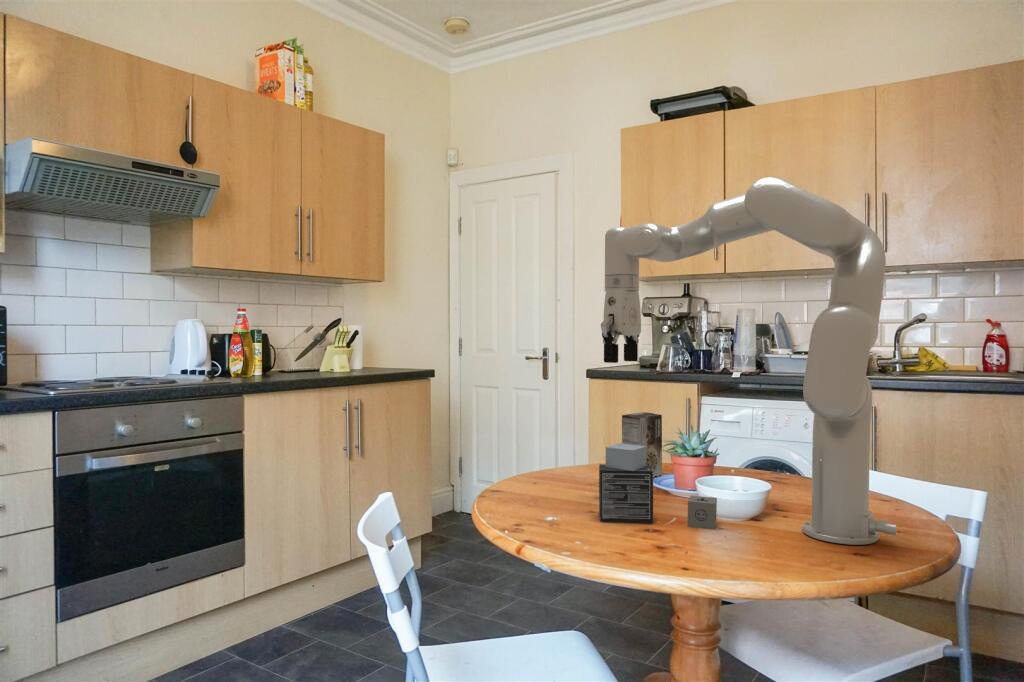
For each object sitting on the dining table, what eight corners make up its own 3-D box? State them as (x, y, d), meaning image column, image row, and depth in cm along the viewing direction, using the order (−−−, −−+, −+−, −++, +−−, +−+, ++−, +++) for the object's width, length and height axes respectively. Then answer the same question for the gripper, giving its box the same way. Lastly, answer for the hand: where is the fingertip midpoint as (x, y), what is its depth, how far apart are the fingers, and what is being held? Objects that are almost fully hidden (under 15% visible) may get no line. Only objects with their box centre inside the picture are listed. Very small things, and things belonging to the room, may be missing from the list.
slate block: (646, 466, 136) (646, 446, 136) (633, 470, 131) (633, 450, 131) (619, 462, 140) (619, 443, 139) (605, 467, 135) (605, 447, 135)
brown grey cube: (687, 527, 130) (687, 501, 130) (690, 520, 135) (690, 495, 135) (714, 530, 128) (714, 503, 128) (716, 523, 133) (716, 497, 133)
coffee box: (643, 472, 181) (643, 411, 181) (662, 476, 176) (663, 414, 176) (620, 476, 175) (620, 414, 175) (639, 480, 170) (640, 416, 170)
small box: (650, 515, 138) (651, 464, 138) (654, 524, 132) (654, 470, 132) (598, 513, 139) (599, 462, 139) (599, 522, 133) (599, 469, 133)
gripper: (619, 281, 140) (618, 363, 141) (653, 286, 154) (652, 361, 155) (587, 282, 145) (587, 362, 145) (623, 287, 159) (622, 360, 159)
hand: (621, 361), depth 150 cm, fingers open, 9 cm apart
